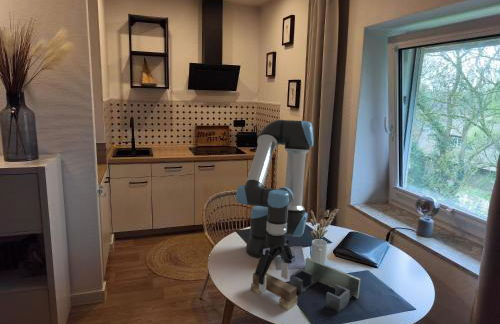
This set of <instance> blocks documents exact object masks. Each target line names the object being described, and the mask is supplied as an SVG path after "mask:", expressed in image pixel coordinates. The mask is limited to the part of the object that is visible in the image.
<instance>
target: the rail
mask: <svg viewBox="0 0 500 324" xmlns="http://www.w3.org/2000/svg"><path fill="white" fill-rule="evenodd" d="M266 276H267V279H266V291H268V292H270V293H271V294H273V295H276V296H278V297H279V298H283V299H285V300H287V301H289V302H290V301H292V300H293V299H295V298H296V296H297V292H296V291H297V288H296V287H294V286H292V285H290V283H288V282H285V281H283V280H282V279H280V278H278V277H275V276H273V275H271V274H269V273H266ZM252 283H254V284H256V285H258V286H259V276H257V275H255V272H253V274H252Z"/></svg>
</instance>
